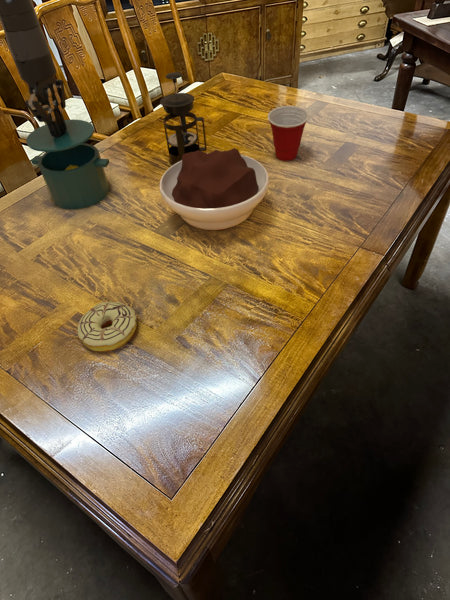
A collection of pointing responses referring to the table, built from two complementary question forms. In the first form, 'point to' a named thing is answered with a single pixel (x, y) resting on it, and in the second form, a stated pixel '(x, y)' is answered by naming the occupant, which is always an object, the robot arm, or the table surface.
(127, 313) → the decorated donut
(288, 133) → the plastic cup
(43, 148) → the lid
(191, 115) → the french press
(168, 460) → the table surface
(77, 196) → the pot
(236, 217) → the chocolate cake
